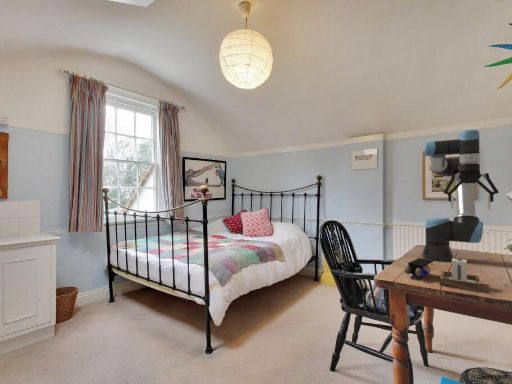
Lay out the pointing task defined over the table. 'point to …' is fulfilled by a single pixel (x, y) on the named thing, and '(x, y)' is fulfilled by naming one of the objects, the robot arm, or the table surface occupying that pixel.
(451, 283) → the brown wooden square tray
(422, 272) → the figurine character
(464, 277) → the strip block
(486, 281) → the table surface
